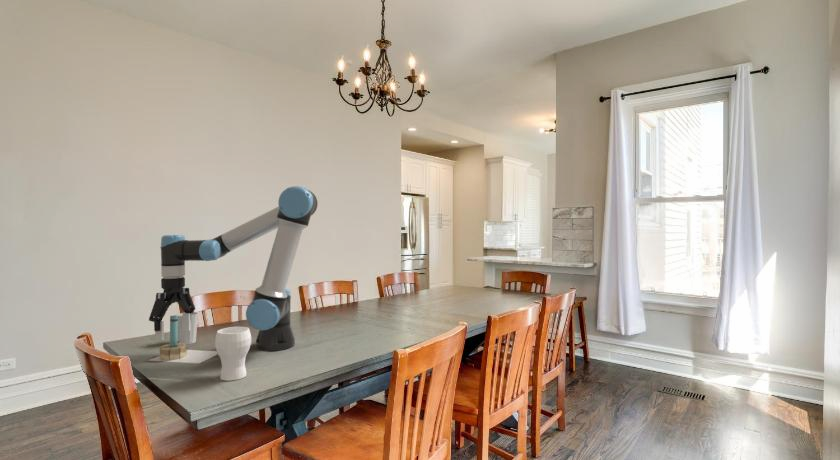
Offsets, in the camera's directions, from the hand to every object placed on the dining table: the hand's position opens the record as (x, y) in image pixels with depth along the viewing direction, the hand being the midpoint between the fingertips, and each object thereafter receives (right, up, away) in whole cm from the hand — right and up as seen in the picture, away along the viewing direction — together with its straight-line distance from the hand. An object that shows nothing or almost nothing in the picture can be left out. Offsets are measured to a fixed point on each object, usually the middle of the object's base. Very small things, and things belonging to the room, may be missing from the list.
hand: (173, 335), depth 155 cm
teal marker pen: (0, -8, 0) cm, 8 cm away
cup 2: (+30, -9, -19) cm, 37 cm away
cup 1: (-6, -9, +20) cm, 23 cm away
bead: (0, -8, 0) cm, 8 cm away
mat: (+4, -8, +1) cm, 10 cm away
